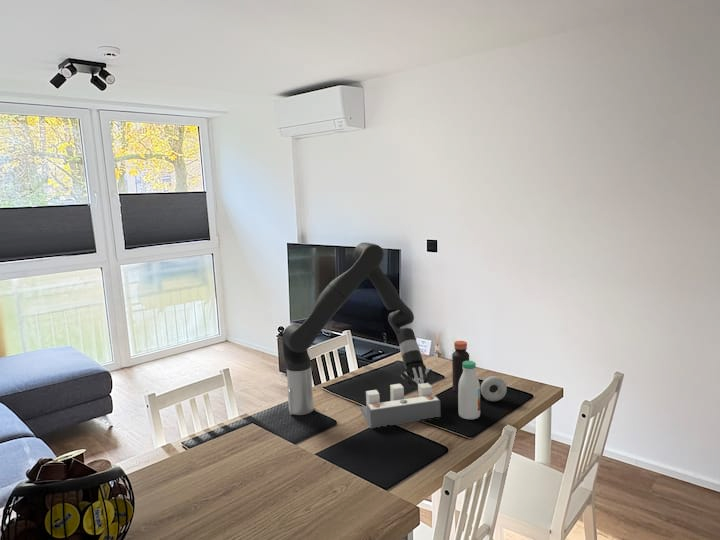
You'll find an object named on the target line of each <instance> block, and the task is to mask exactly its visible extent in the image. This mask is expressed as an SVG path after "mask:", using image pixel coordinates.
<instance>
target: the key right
mask: <svg viewBox="0 0 720 540" xmlns="http://www.w3.org/2000/svg"><path fill="white" fill-rule="evenodd" d="M430 395H433V386H432V385H431V384H430V383H429V382H427V383H422V384H418V392H417V397H423V396H430Z"/></svg>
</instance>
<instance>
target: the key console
mask: <svg viewBox="0 0 720 540" xmlns="http://www.w3.org/2000/svg"><path fill="white" fill-rule="evenodd" d="M360 412H361V414H363V417H364V419H365V420H366V422H367V424H368V426H369V427H370V429H375V428H376V427H377V428H381V426H383V427H388V426H387V425H390V426H394V425H403V424H408V423H414V422H420V421H419V420H421V419H427V418H434V417H442V415H441V413H442V412H441V400H440V398H438V396H437V395H435V394H432V395H430V396H423V397H418V396H415V397H410V398H409V397H408V398H404V399H402V400H395V401H391V400H388V401H383V402H382V401H380V403H374V404H368V405H363V406H360Z"/></svg>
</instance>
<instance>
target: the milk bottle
mask: <svg viewBox="0 0 720 540" xmlns="http://www.w3.org/2000/svg"><path fill="white" fill-rule="evenodd" d="M462 366H463V367H462V368H463V373H462V375H461V377H460V380H459V384H458V392H457V393H458V394H457V397H458V398H457V399H458V401H457V403H458V407H457V408H458V410H457V411H458V416H459V417H460V418H461V419H465V420H475V419H479V417H481V389H480V388H481V384H480V381H479V378H478V376H477V373H476V366H477V365H476V362H475V361H473V360H469V361H464V362H463V363H462Z"/></svg>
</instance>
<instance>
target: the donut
mask: <svg viewBox="0 0 720 540" xmlns="http://www.w3.org/2000/svg"><path fill="white" fill-rule="evenodd" d="M492 386H496V387H497V390H496V391H495V392H493V391H492V392H491V391H490V388H491V387H492ZM507 390H508V388H507V383H506V382H505V380H503V378H501V377H499V376H497V375H496V376H495V375H492V376H491V375H490V376H488V377H486V378H484V379H483V381H482V382H481V384H480V395H482V397H483V398H484V399H485V400H486V401H488V402H489V401H490V402H498V401H501V400H502V399H503V398H504V397H505V396H506V394H507Z"/></svg>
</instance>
